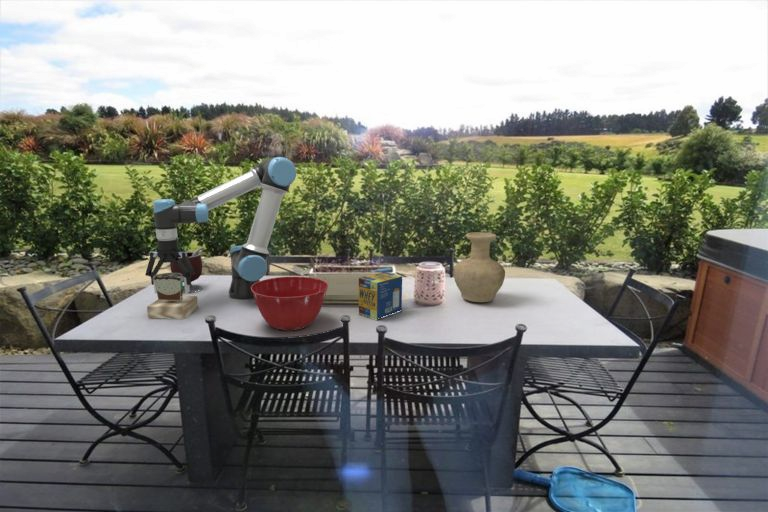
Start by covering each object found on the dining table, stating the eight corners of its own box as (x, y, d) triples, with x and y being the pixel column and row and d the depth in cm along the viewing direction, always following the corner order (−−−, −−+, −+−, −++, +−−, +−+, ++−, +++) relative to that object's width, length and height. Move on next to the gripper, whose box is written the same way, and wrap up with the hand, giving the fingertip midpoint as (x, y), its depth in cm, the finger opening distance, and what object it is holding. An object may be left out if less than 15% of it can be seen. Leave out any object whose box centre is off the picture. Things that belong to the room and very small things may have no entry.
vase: (508, 308, 193) (513, 239, 186) (456, 307, 193) (459, 238, 187) (497, 293, 215) (500, 230, 208) (449, 292, 215) (452, 230, 209)
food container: (192, 296, 185) (189, 272, 183) (184, 300, 179) (181, 276, 177) (163, 295, 186) (161, 271, 184) (154, 300, 180) (152, 275, 178)
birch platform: (198, 307, 191) (197, 296, 190) (184, 318, 177) (183, 306, 176) (164, 307, 191) (163, 295, 190) (148, 318, 177) (146, 306, 176)
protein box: (358, 314, 183) (357, 277, 180) (383, 306, 194) (384, 271, 191) (376, 321, 176) (376, 282, 173) (402, 311, 188) (403, 275, 184)
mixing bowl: (332, 312, 186) (332, 275, 183) (323, 339, 158) (322, 296, 155) (264, 311, 186) (262, 275, 183) (243, 338, 158) (240, 296, 155)
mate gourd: (178, 295, 207) (174, 252, 203) (168, 289, 217) (164, 248, 213) (212, 289, 217) (209, 248, 213) (200, 283, 227) (197, 244, 223)
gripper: (131, 240, 174) (137, 295, 178) (193, 240, 174) (198, 295, 179) (141, 237, 181) (147, 289, 186) (201, 237, 181) (205, 289, 186)
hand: (172, 292), depth 182 cm, fingers closed on food container, 11 cm apart
